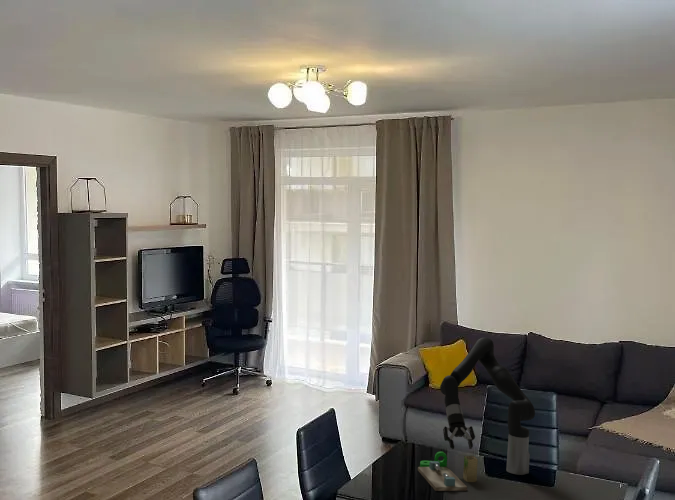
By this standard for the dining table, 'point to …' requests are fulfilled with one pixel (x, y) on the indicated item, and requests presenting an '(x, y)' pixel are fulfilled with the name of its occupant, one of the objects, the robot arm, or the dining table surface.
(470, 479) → the tan square-topped block
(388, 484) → the dining table surface
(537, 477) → the dining table surface
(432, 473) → the board
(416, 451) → the dining table surface
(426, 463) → the mechanical part
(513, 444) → the robot arm
